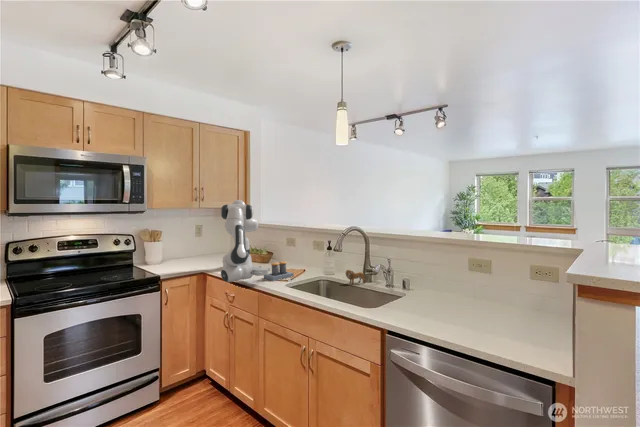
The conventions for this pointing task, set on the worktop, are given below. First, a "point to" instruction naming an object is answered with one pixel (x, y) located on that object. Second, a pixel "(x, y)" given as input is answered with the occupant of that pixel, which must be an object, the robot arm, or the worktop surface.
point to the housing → (278, 276)
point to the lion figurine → (355, 276)
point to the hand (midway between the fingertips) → (265, 268)
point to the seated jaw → (282, 267)
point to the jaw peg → (275, 269)
